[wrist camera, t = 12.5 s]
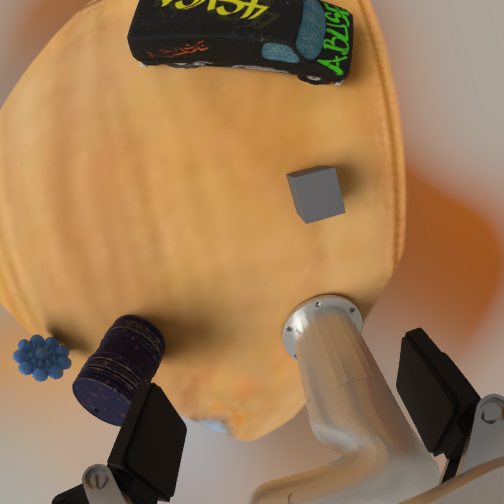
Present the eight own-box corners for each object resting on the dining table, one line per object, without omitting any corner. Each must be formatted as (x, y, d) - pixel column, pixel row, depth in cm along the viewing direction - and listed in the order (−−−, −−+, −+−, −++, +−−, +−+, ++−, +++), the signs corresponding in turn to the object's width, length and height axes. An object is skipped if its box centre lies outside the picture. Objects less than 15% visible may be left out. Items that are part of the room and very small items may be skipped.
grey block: (330, 203, 33) (345, 212, 28) (296, 212, 34) (306, 223, 28) (320, 165, 32) (334, 167, 26) (286, 174, 32) (293, 177, 26)
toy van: (336, 91, 29) (367, 70, 19) (145, 73, 27) (111, 49, 18) (341, 27, 25) (368, -6, 16) (161, 10, 24) (137, -24, 14)
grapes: (36, 338, 42) (7, 371, 30) (35, 317, 40) (2, 350, 28) (78, 366, 43) (52, 405, 32) (79, 346, 41) (50, 387, 30)
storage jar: (130, 303, 38) (85, 366, 24) (177, 343, 40) (153, 415, 26) (103, 334, 40) (63, 392, 26) (145, 369, 43) (119, 433, 28)
